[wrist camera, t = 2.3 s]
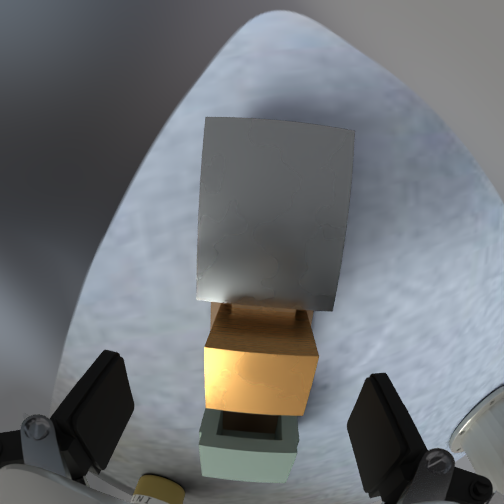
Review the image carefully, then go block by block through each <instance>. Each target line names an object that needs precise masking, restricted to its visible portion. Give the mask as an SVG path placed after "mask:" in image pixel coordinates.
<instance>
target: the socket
mask: <svg viewBox="0 0 504 504" xmlns="http://www.w3.org/2000/svg"><path fill="white" fill-rule="evenodd" d="M199 437H200V442H199V453H200V462H201V470H202V476H206V477H212V478H219V479H227V480H237V481H248V482H264V483H286V481H287V478H288V476H289V473H290V471H291V468H292V466H293V463H294V461H295V458H296V455H297V445H298V443H299V433H298V422H297V416H291V415H279V417H278V421H277V426H276V430H275V434H273V433H256V432H244V431H234V430H226V429H223V410H217V409H210V408H205V412H204V416H203V419H202V423H201V427H200V430H199Z"/></svg>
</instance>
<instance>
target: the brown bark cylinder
mask: <svg viewBox="0 0 504 504" xmlns="http://www.w3.org/2000/svg"><path fill="white" fill-rule="evenodd" d="M184 496H185V492H184V489H183V488H182V487H181V486H180V485H178V484H177V483H175V482H173V481H171V480H169V479H166V478H163V477H160V476H155V475H144V476H142V477H141V478H140V479H139V481H138V484H137V486H136V489H135V491H134V494H133V496H132V499H131V501H130V502H131V503H134V504H183V500H184Z"/></svg>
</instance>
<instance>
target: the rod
mask: <svg viewBox="0 0 504 504" xmlns="http://www.w3.org/2000/svg"><path fill="white" fill-rule="evenodd" d="M204 357H205V399H206V408H210V409H217V410H225V411H230V412H239V413H249V414H262V415H291V416H303V414H304V411H305V407H306V404H307V400H308V397H309V393H310V390H311V386H312V382H313V378H314V375H315V371H316V367H317V363H318V359H319V355H318V351H317V347H316V343H315V340H314V336H313V332H312V329H311V325H310V322H309V318H308V314H307V311H306V310H298V309H284V308H271V307H259V306H248V305H237V304H228V303H221V305H220V307H219V310H218V313H217V315H216V318H215V320H214V323H213V326H212V328H211V331H210V334H209V336H208V339H207V342H206V344H205V347H204Z"/></svg>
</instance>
